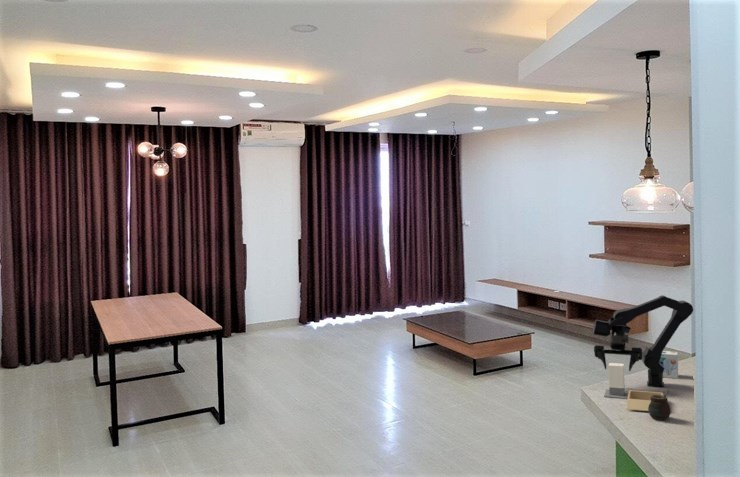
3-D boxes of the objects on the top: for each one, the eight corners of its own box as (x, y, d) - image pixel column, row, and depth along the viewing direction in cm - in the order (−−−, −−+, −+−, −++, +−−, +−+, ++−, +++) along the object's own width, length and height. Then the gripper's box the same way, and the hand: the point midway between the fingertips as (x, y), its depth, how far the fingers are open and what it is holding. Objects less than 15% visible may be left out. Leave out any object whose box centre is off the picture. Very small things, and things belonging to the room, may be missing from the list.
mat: (606, 390, 256) (606, 389, 256) (629, 392, 252) (629, 391, 252) (604, 397, 247) (604, 396, 247) (628, 399, 243) (628, 398, 243)
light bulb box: (651, 376, 274) (651, 352, 274) (652, 373, 280) (651, 349, 280) (678, 378, 269) (677, 354, 269) (678, 375, 275) (677, 351, 275)
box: (610, 391, 252) (609, 362, 252) (624, 392, 250) (624, 363, 250) (609, 394, 248) (608, 365, 248) (624, 395, 246) (623, 366, 246)
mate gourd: (643, 417, 221) (642, 389, 221) (659, 414, 224) (658, 387, 223) (659, 423, 214) (658, 394, 214) (675, 419, 217) (675, 391, 217)
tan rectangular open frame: (629, 396, 246) (629, 387, 246) (663, 399, 241) (663, 390, 240) (627, 410, 229) (626, 401, 229) (663, 414, 223) (662, 404, 223)
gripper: (593, 326, 261) (592, 357, 251) (641, 328, 253) (641, 360, 243) (595, 341, 268) (594, 372, 259) (642, 343, 261) (642, 375, 251)
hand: (617, 369), depth 253 cm, fingers open, 9 cm apart
